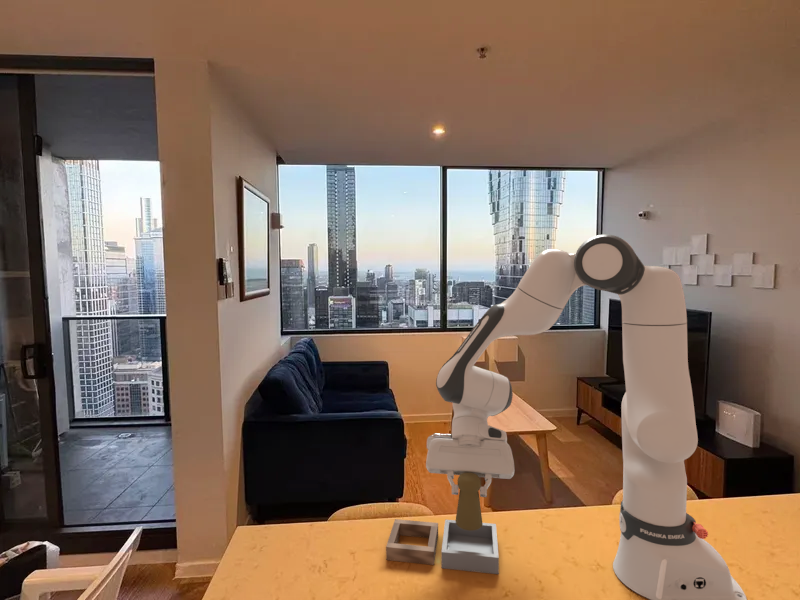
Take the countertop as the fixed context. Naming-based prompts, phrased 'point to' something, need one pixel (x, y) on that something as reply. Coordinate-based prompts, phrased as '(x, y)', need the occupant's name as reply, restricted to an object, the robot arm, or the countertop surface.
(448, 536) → the slate tray
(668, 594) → the robot arm
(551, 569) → the countertop surface
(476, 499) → the olive pawn
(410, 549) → the walnut holder
